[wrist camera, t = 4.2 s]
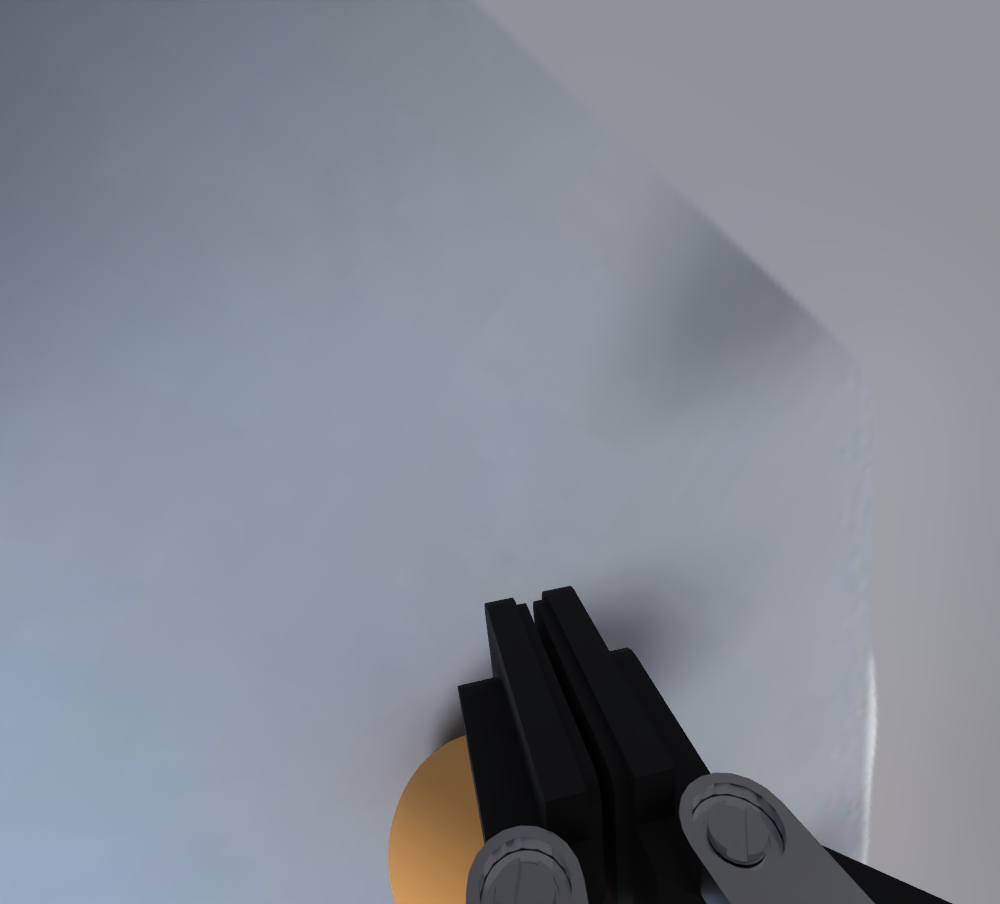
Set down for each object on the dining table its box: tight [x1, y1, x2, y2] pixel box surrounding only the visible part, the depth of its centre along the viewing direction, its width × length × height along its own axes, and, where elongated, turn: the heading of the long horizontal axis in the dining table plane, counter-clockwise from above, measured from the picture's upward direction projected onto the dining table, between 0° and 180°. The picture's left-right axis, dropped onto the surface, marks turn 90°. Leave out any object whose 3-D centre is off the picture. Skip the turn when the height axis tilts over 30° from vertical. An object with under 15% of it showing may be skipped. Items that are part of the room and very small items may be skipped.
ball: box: [388, 735, 484, 904], centre depth 16 cm, size 6×6×6 cm
